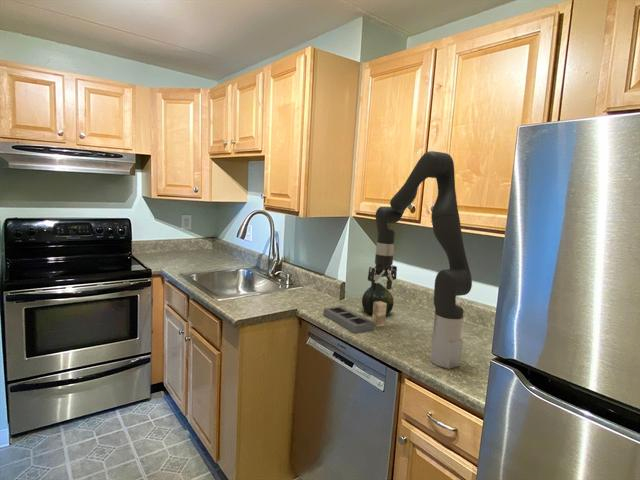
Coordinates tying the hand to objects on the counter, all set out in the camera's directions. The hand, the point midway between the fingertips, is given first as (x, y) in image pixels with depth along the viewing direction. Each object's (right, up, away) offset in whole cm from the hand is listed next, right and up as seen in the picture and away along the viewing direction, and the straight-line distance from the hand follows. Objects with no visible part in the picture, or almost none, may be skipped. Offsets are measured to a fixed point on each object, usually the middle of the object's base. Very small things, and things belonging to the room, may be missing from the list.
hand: (381, 290), depth 163 cm
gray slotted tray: (-14, -15, +3) cm, 21 cm away
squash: (+1, -14, +18) cm, 23 cm away
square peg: (-1, -16, +2) cm, 16 cm away
